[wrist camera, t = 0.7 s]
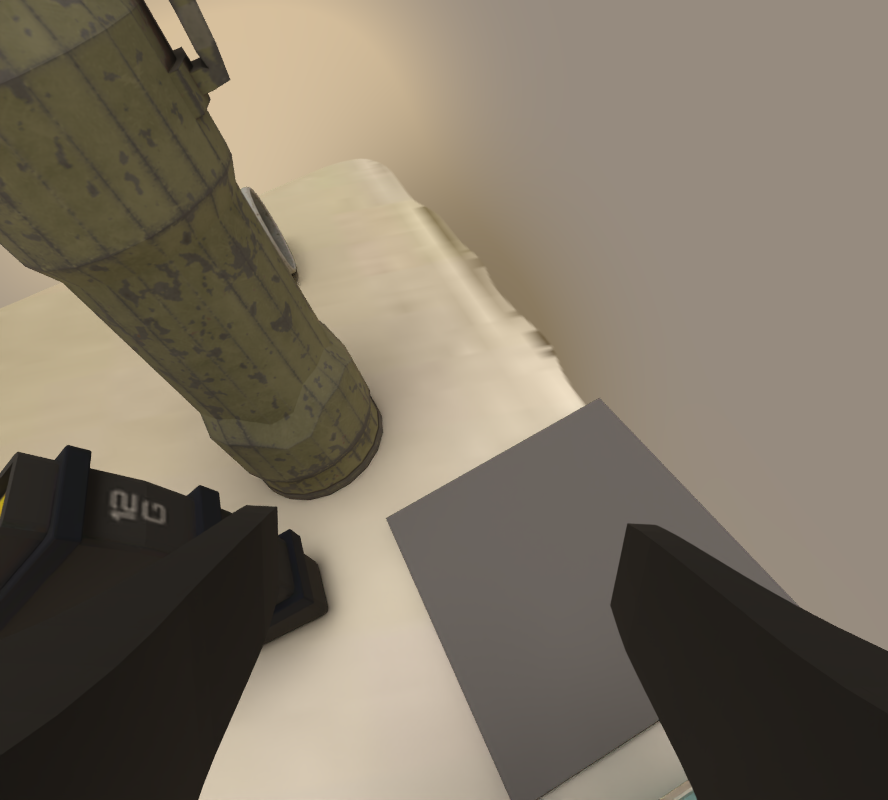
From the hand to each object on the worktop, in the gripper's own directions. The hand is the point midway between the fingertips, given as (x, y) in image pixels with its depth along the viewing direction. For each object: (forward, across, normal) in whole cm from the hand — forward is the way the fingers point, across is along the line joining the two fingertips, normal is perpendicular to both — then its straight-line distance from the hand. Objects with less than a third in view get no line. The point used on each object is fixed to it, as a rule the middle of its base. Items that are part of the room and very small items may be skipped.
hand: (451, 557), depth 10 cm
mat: (+12, -7, +8) cm, 16 cm away
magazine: (+13, +11, +15) cm, 23 cm away
